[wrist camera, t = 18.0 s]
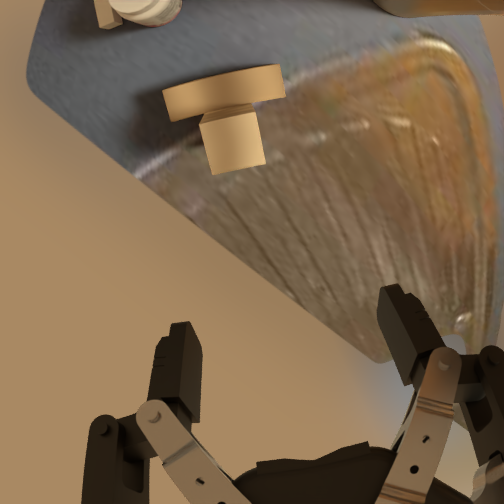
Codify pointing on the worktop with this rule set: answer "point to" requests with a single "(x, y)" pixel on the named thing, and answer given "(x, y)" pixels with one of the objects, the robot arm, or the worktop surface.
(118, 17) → the bay
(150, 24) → the pill bottle
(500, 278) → the worktop surface
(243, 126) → the scraper
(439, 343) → the robot arm
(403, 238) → the worktop surface
